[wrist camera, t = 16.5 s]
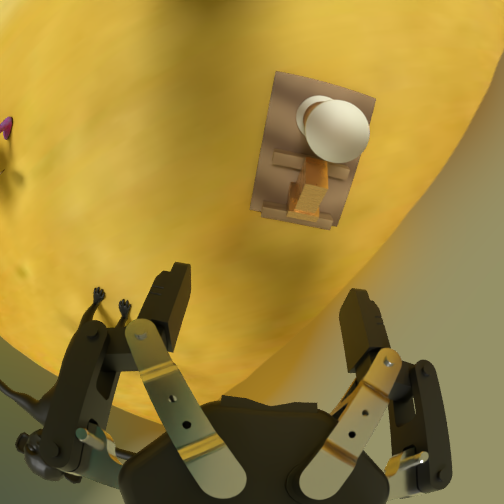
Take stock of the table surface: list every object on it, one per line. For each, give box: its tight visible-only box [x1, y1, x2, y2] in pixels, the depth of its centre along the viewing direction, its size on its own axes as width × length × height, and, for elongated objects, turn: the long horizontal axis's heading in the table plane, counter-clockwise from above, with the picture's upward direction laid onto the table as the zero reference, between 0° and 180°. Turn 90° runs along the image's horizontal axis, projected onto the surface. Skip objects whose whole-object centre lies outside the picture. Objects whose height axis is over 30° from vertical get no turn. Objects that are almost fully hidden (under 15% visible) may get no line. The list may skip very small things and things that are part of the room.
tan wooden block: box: [286, 157, 328, 222], centre depth 29 cm, size 4×4×6 cm
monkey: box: [0, 287, 136, 483], centre depth 37 cm, size 40×20×40 cm, turn 65°
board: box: [250, 71, 376, 230], centre depth 27 cm, size 18×12×10 cm, turn 171°
